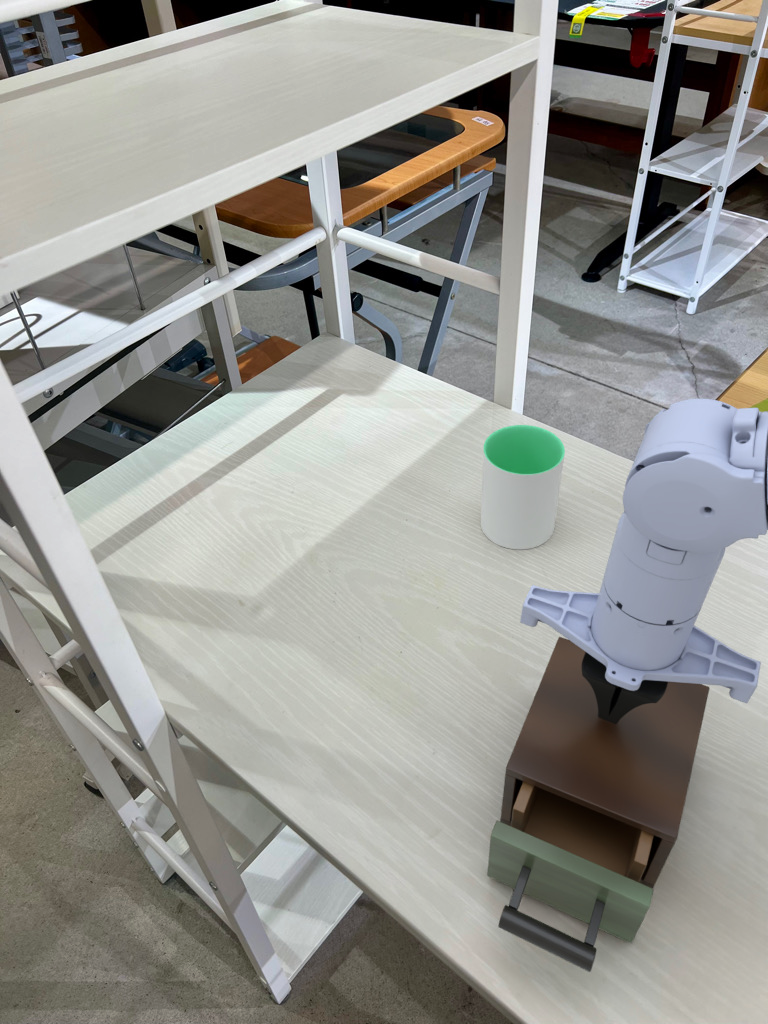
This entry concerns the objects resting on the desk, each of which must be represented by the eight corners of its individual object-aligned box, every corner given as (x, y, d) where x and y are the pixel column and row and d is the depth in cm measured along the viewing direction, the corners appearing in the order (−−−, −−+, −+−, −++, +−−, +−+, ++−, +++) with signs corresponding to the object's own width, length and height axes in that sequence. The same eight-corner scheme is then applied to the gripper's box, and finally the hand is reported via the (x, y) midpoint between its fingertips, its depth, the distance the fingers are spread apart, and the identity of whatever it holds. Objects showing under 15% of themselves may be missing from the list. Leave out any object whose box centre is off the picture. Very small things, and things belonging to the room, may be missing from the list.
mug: (482, 475, 88) (485, 402, 81) (551, 477, 87) (560, 403, 80) (479, 547, 80) (482, 473, 73) (556, 551, 79) (566, 476, 72)
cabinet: (652, 890, 54) (677, 839, 48) (499, 822, 58) (505, 768, 52) (685, 745, 62) (710, 686, 56) (549, 695, 66) (558, 635, 60)
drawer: (615, 1009, 48) (633, 977, 43) (465, 932, 52) (466, 896, 47) (666, 796, 58) (685, 751, 53) (536, 745, 62) (543, 699, 57)
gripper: (513, 594, 44) (495, 715, 53) (777, 685, 39) (706, 801, 49) (549, 518, 48) (527, 642, 58) (790, 591, 44) (722, 714, 53)
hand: (610, 709), depth 54 cm, fingers closed
